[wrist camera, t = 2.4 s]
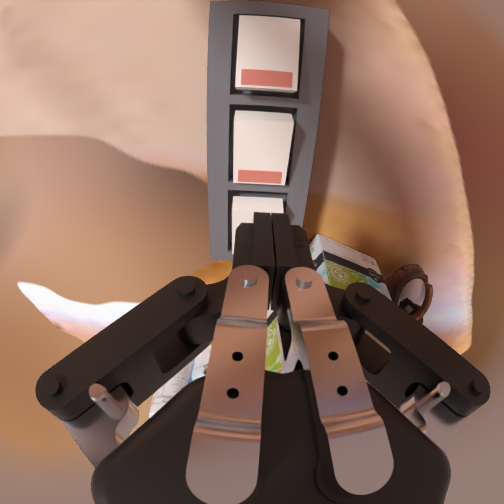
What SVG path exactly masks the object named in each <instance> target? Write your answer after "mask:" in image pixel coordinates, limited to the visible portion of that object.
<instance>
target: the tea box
mask: <svg viewBox="0 0 504 504" xmlns="http://www.w3.org/2000/svg"><path fill="white" fill-rule="evenodd" d="M309 248H310V251H311V256H312V260H313V264H314V268H315V271H316V272H318V273H319V274H320V275H321V277H322V278H323V281H324V283H326V284H328V285H330V286H333V287H337V288H340V289H344V290H346V288H347V286H348V285H350V284H352V283H355V282H363V283H366V284H369V285H371V286H372V287H374V288H375V289H377V290H378V291H379V292H381V293H382V294H383V295H385V296H386V297H387V298H389V299H390V300H391V301H392V299H391V297H390V294H389V292H388V289H387V287H386V284H385V282H384V280H383V277H382V274H381V272H380V270H379V267H378V265H377V263H376V260H375V259H374V258H372V257H370V256H368V255H365V254H363V253H361V252H359V251H356V250H354V249H352V248H350V247H348V246H345V245H343V244H341V243H339V242H336V241H334V240H332V239H330V238H327V237H325V236H323V235H320V234H317V235H316V237H315V238H314V239H313V241H312V242H311V243H310V244H309ZM277 319H278V314H277V311H275V310H271V306H270V307H269V310H267V342H266V358H265V370H268V371H272V372H277V373H282V362H281V355H280V349H279V342H278V336H277V329H276V324H277ZM365 333H366V334H367V335H369V336H370V337H371V338H372V339H373V340H375V341H376V342H377V343H378V344H379V345H381V346H382V347H383V348H384V349H385V350H387V351H388V352H389V353H391V351H390V350H389V348H388V347H386V346H385V345H384V344H383V343H382V342H380V341H379V340H378V339H377V338H375V337H374V336H373V335H372V334H371V333H369V332H368V331H366V332H365Z"/></svg>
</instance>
